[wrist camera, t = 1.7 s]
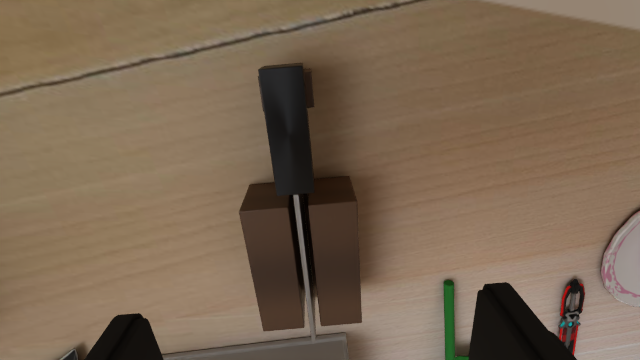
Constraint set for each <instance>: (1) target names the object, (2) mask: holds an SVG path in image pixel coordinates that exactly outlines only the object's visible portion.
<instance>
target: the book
mask: <svg viewBox="0 0 640 360" xmlns="http://www.w3.org/2000/svg"><path fill="white" fill-rule="evenodd" d="M162 357H163V360H349V355H348V347H347V340H346V333H337V334H329V335H321V336H316V343H314V344H312V340H311V337H304V338H296V339H288V340H280V341H272V342H264V343H255V344H247V345H239V346H231V347H223V348H214V349H206V350H198V351H190V352H182V353H174V354H165V355H162Z"/></svg>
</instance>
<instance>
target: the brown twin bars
mask: <svg viewBox="0 0 640 360" xmlns="http://www.w3.org/2000/svg"><path fill="white" fill-rule="evenodd" d="M304 78H305V89H306V99H307V108H311V107H314V100H313V89H312V77H311V69H310V68H309V69H304ZM258 80H259V87H260V93H261V100H262V107H263V111H264V106H263V99H262V92H261V85H260V79H259V76H258ZM314 189H315V192H314V193H308V211H309V221H310V230H311V239H312V248H313V258H314V267H315V276H316V285H317V295H318V304H319V313H320V322H321V326H329V325H341V324H352V323H361V322H362V313H361V288H360V262H359V237H358V211H357V200H356V196H355V193H354V190H353V186H352V183H351V180H350V177H349V176H344V177H332V178H321V179H314ZM239 214H240V219H241V224H242V229H243V234H244V239H245V243H246V248H247V253H248V258H249V263H250V268H251V273H252V277H253V282H254V287H255V292H256V297H257V302H258V307H259V311H260V316H261V321H262V326H263V331H272V330H284V329H295V328H304V317H305V287H304V279H303V271H302V263H301V255H300V247H299V240H298V232H297V224H296V216H295V208H294V200H293V195H283V196H277V193H276V187H275V183H264V184H252V185H249V188H248V190H247V193H246V195H245V198H244V200H243V203H242V206H241V208H240V211H239Z"/></svg>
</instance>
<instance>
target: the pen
mask: <svg viewBox="0 0 640 360" xmlns="http://www.w3.org/2000/svg"><path fill="white" fill-rule="evenodd" d="M578 291H579V292H580V300H579V307H578V309H576V310H575V309H574V306H575V299H576V294H578ZM570 292H571V300H570V308H569V309H568V310H566V311H565V307H566V299H567V298H568V296H569V294H570ZM584 297H585V292H584V286H583V284H579V283H578V280H577V279H574V280H573V281H572V282H571V283H570V286H567V287H566V290H565V292H564V295H563V297H562V305H561V313H560V316H563V317H562V321H563V322H562V324H561V325H559V328H560V335H559V339H560V340H561V341H562V342H563V344H565V346H566V347H567V348H568V350H569V351H570V352H571V353H572V354H573V356H574V351H575V344H576V338H577V331H578V325H580V323H579V322H578V320H579V318H580V317H579V314H580V313H582V310H583V309H582V307H583V302H584ZM569 343H570V345H569ZM568 345H569V346H568Z"/></svg>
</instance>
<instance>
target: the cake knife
mask: <svg viewBox="0 0 640 360" xmlns="http://www.w3.org/2000/svg"><path fill="white" fill-rule="evenodd" d="M258 72H259V79H260V85H261V92H262V99H263V106H264V112H265V119H266V126H267V133H268V139H269V146H270V153H271V160H272V166H273V173H274V180H275V187H276V193H277V196H283V195H293V197H294V205H295V213H296V221H297V229H298V237H299V245H300V253H301V261H302V268H303V276H304V284H305V292H306V300H307V308H308V316H309V324H310V332H311V340H312V344H314V343H316V323H315V295H314V287H313V278H312V269H311V260H310V251H309V242H308V233H307V224H306V215H305V206H304V198H303V194H306V193H314V192H315V189H314V172H313V162H312V152H311V141H310V131H309V120H308V110H307V99H306V89H305V78H304V68H303V63H294V64H282V65H271V66H264V67H262V68H260V69H259V70H258Z"/></svg>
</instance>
